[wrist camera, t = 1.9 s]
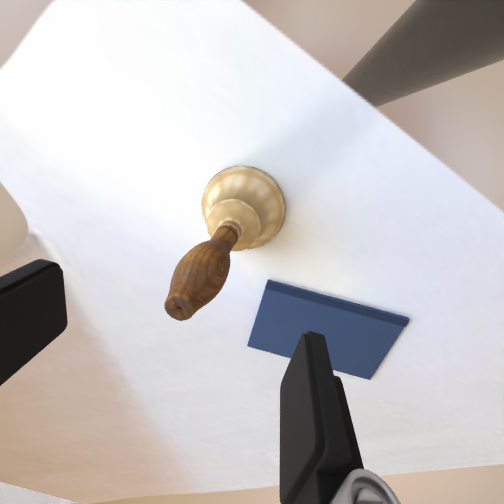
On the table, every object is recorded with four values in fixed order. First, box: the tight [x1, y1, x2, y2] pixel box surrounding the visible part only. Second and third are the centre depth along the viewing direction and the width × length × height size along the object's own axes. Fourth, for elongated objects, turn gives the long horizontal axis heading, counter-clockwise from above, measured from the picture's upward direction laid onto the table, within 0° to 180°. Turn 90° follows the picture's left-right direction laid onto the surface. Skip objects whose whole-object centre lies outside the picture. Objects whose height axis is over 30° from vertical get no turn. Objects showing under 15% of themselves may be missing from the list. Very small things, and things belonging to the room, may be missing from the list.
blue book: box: [247, 280, 409, 380], centre depth 29 cm, size 10×16×1 cm, turn 76°
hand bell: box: [165, 166, 285, 321], centre depth 17 cm, size 8×8×16 cm
